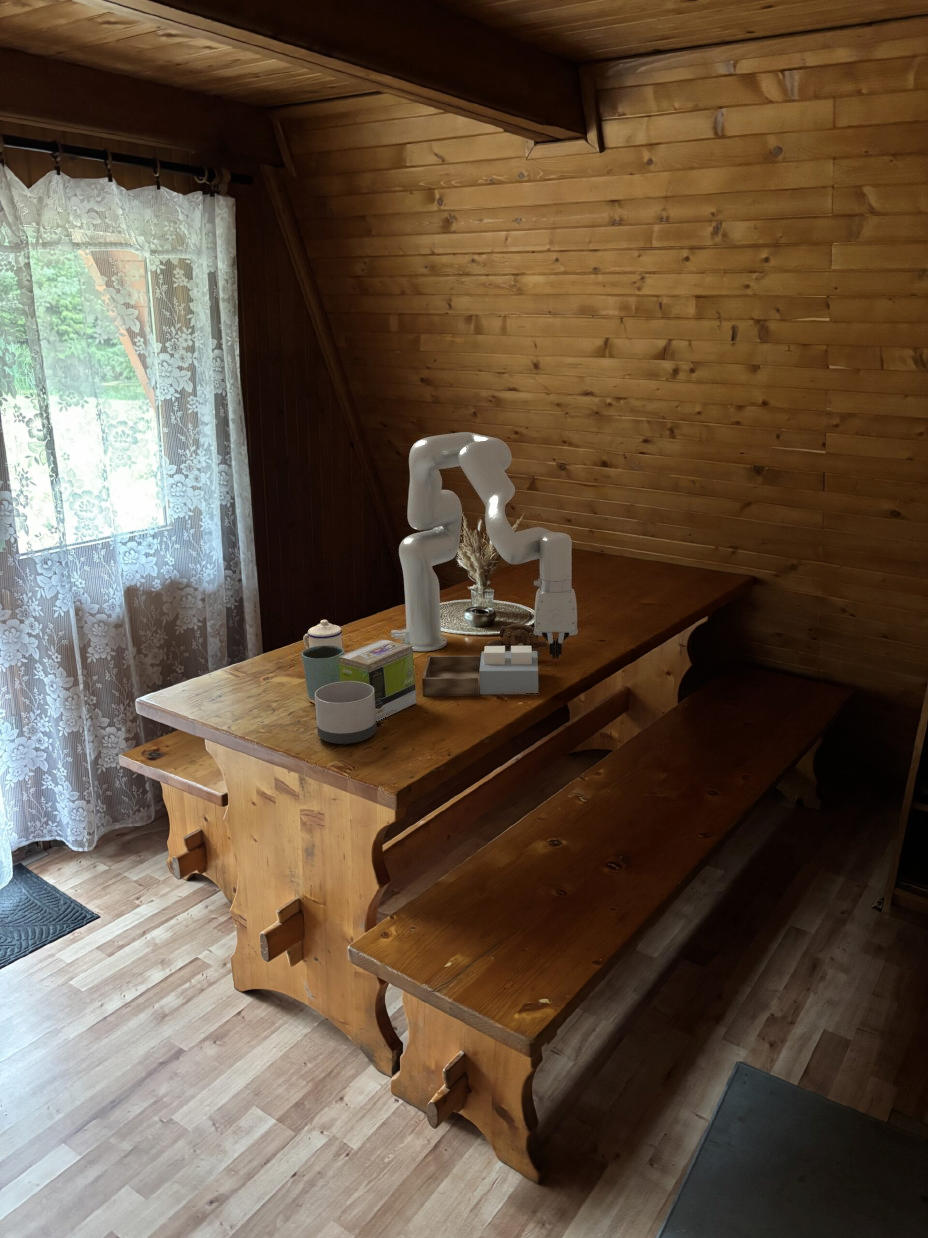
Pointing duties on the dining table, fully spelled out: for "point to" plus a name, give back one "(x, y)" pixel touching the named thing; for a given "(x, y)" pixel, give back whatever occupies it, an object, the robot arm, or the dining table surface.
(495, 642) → the wooden carving
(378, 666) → the tea box
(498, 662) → the cream square-faced block
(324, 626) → the teacup with lid
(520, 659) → the cream upright block
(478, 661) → the box
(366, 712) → the planter
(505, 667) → the grey square block
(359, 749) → the dining table surface
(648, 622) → the dining table surface
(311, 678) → the teal tapered cup
